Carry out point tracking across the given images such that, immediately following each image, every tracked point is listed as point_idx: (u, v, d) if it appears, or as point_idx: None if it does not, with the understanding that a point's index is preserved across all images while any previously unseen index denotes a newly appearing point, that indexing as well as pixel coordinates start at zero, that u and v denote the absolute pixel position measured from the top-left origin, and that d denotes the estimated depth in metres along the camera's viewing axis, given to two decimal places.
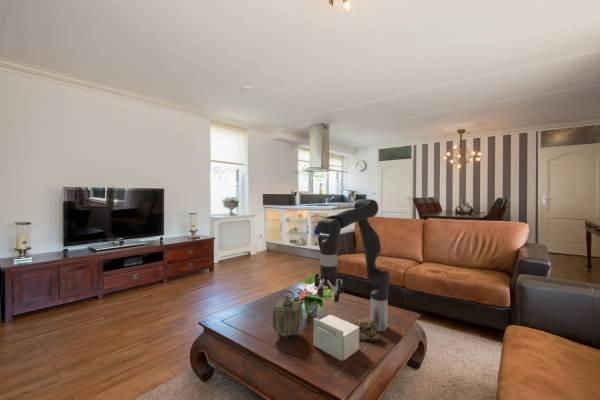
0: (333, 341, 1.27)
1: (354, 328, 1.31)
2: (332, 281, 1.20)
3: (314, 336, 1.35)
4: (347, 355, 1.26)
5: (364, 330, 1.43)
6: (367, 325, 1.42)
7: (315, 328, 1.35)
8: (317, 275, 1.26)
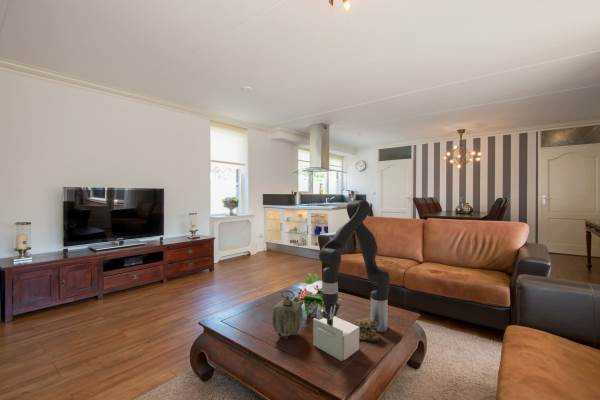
0: (333, 341, 1.27)
1: (354, 328, 1.31)
2: (335, 306, 1.31)
3: (314, 336, 1.35)
4: (347, 355, 1.26)
5: (364, 330, 1.43)
6: (367, 325, 1.42)
7: (315, 328, 1.35)
8: (324, 311, 1.26)
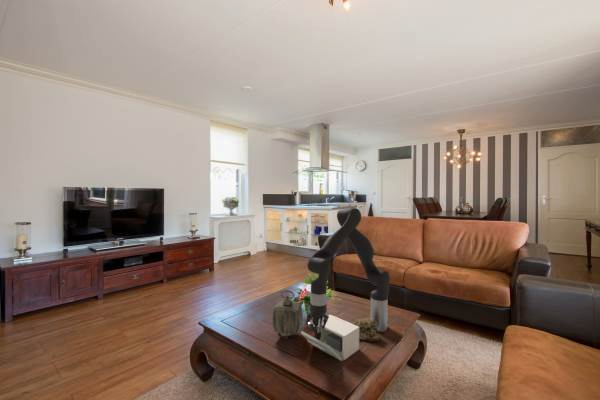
0: (326, 350, 1.24)
1: (354, 328, 1.31)
2: (323, 318, 1.26)
3: None
4: (347, 355, 1.26)
5: (364, 330, 1.43)
6: (367, 325, 1.42)
7: (307, 338, 1.31)
8: (311, 324, 1.21)
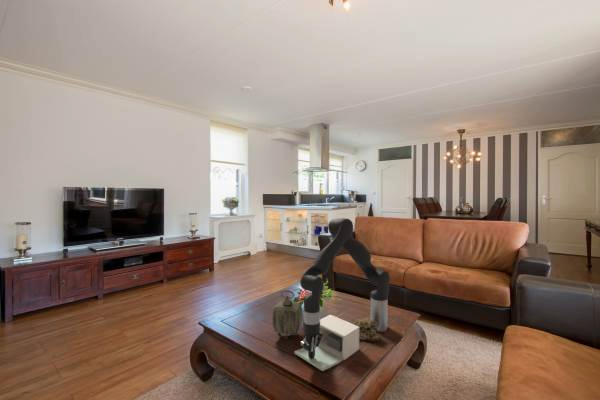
0: None
1: (354, 328, 1.31)
2: None
3: None
4: (347, 355, 1.26)
5: (364, 330, 1.43)
6: (367, 325, 1.42)
7: None
8: (304, 343, 1.18)
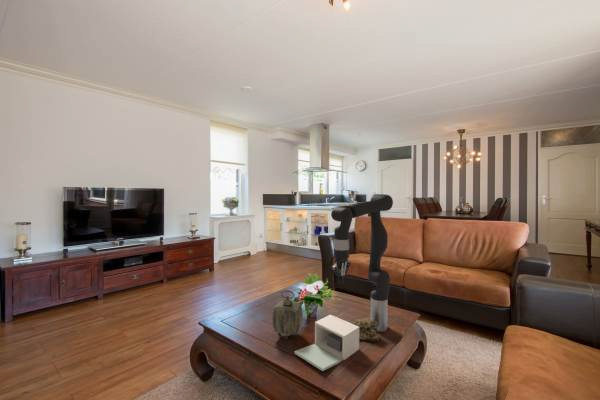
0: None
1: (354, 328, 1.31)
2: None
3: None
4: (347, 355, 1.26)
5: (364, 330, 1.43)
6: (367, 325, 1.42)
7: None
8: (336, 266, 1.31)
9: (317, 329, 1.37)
